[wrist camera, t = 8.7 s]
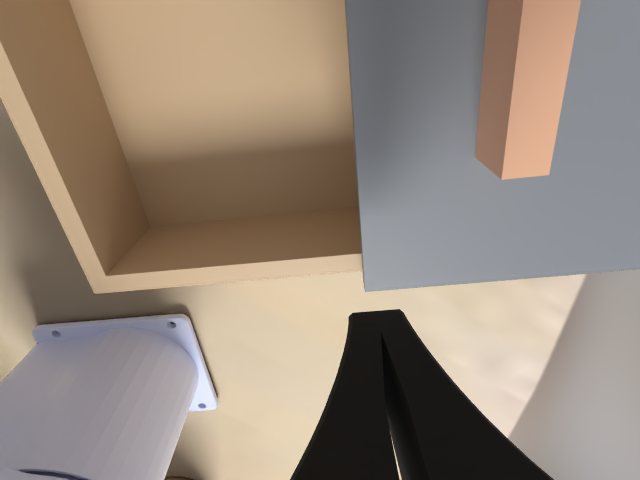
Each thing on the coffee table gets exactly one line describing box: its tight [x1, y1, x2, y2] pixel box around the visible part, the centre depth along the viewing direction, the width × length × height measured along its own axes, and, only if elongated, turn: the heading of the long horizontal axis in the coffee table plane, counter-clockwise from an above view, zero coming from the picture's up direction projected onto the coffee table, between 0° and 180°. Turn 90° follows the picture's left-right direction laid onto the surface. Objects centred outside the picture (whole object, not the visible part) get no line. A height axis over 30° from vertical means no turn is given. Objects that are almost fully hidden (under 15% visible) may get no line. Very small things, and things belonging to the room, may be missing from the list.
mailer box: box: [0, 0, 363, 294], centre depth 13 cm, size 14×18×5 cm
